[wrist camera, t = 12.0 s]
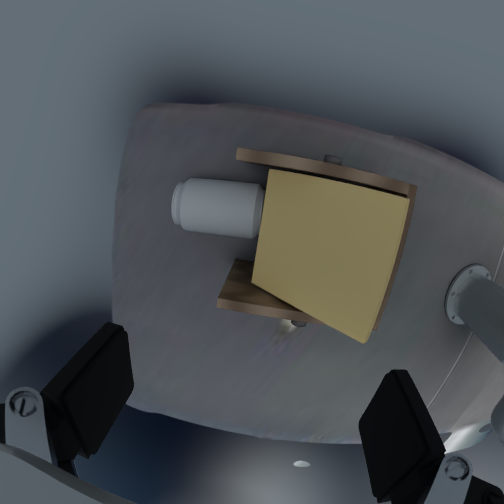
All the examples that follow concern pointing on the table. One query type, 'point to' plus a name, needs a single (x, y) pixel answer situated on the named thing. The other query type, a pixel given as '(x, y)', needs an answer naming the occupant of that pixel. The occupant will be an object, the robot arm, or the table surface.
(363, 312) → the trapdoor flap
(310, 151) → the table surface
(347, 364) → the table surface
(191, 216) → the can
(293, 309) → the trapdoor frame
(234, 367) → the table surface
